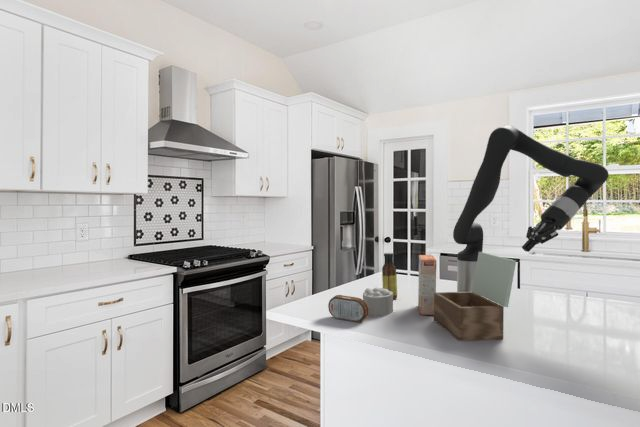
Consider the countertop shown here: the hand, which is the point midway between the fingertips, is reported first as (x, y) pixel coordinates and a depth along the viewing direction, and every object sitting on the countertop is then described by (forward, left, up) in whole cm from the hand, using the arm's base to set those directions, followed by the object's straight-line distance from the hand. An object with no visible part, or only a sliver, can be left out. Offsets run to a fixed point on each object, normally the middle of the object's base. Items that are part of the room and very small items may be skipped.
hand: (524, 249), depth 128 cm
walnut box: (+18, -10, -26) cm, 33 cm away
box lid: (+10, -6, -9) cm, 15 cm away
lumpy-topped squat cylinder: (+28, -42, -26) cm, 57 cm away
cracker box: (+11, -32, -26) cm, 43 cm away
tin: (+43, -41, -26) cm, 65 cm away
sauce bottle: (+9, -54, -26) cm, 61 cm away
